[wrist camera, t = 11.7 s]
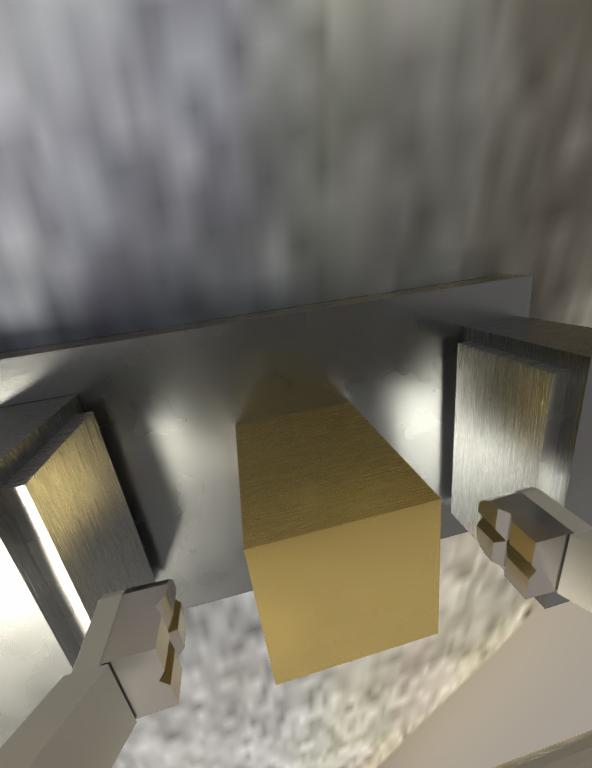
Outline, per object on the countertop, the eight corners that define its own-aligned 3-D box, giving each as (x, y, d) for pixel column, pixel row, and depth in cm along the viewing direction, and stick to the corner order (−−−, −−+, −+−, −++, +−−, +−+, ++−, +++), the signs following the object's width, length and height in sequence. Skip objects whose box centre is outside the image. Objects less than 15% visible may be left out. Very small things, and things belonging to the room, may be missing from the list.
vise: (-185, 381, 11) (-695, 522, 5) (503, 274, 14) (704, 278, 8) (-19, 633, 15) (-182, 880, 9) (485, 502, 19) (610, 614, 13)
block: (235, 425, 13) (243, 550, 7) (349, 401, 13) (441, 498, 8) (255, 520, 14) (276, 684, 9) (357, 495, 15) (438, 632, 9)
